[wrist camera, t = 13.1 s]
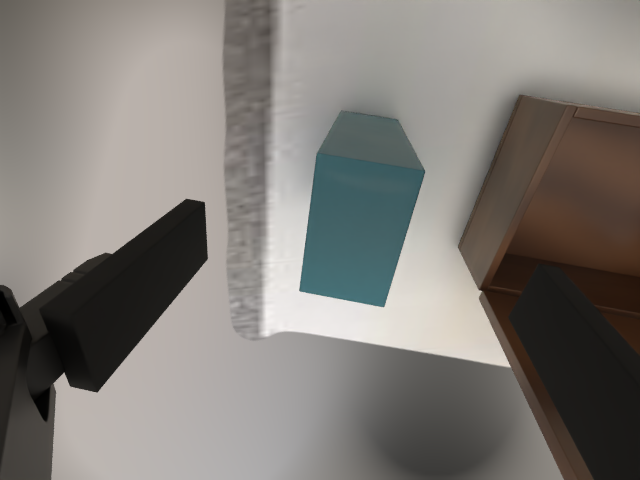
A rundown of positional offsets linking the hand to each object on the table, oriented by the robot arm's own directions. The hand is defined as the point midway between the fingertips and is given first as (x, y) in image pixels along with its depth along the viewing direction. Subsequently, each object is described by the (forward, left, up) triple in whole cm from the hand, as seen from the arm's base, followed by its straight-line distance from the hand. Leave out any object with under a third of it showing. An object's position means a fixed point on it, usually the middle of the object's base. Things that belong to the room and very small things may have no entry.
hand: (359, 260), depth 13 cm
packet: (0, 0, -16) cm, 16 cm away
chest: (0, +20, -16) cm, 26 cm away
